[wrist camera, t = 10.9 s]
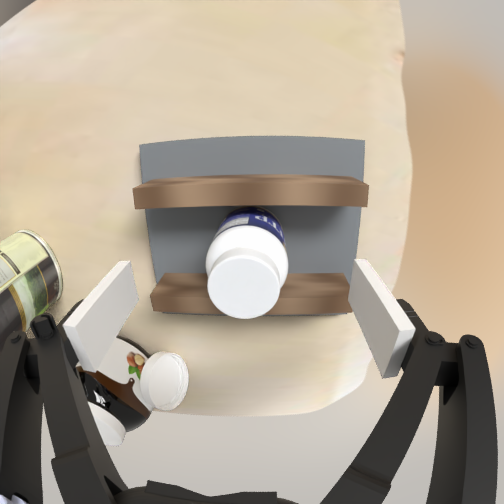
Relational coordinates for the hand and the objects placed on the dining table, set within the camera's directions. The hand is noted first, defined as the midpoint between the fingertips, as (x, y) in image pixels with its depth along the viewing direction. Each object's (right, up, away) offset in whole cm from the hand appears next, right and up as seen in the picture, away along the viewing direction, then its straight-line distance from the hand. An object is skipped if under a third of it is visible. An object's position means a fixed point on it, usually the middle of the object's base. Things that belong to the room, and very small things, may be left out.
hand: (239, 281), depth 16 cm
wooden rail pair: (+1, +3, +7) cm, 8 cm away
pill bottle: (+1, +3, +8) cm, 8 cm away
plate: (+1, +3, +8) cm, 9 cm away
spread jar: (-13, -11, +16) cm, 23 cm away
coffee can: (-26, 0, +11) cm, 29 cm away
